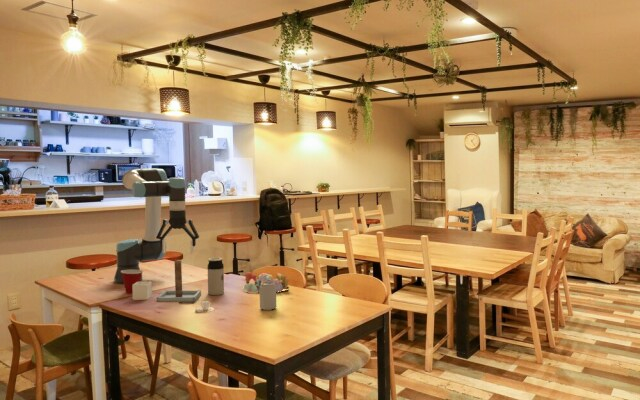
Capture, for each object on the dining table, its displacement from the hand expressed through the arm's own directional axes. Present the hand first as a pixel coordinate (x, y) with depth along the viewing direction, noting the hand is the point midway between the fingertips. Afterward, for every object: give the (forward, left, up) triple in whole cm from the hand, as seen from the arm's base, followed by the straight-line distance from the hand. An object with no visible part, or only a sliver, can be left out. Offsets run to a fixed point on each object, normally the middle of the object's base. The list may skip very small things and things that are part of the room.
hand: (178, 252), depth 243 cm
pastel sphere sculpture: (-18, +41, -23) cm, 51 cm away
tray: (0, 0, -23) cm, 23 cm away
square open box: (0, -18, -23) cm, 29 cm away
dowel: (0, 0, -22) cm, 22 cm away
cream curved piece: (+19, +14, -23) cm, 33 cm away
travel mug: (-10, +16, -23) cm, 30 cm away
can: (+19, +45, -23) cm, 54 cm away
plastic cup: (-12, -27, -23) cm, 37 cm away
